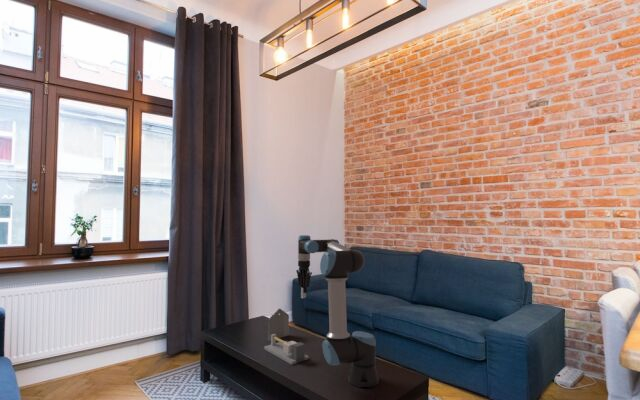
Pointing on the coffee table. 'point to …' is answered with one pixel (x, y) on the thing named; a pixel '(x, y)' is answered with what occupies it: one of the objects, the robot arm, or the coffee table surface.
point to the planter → (279, 324)
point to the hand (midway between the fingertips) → (303, 297)
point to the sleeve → (288, 346)
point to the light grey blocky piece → (277, 350)
